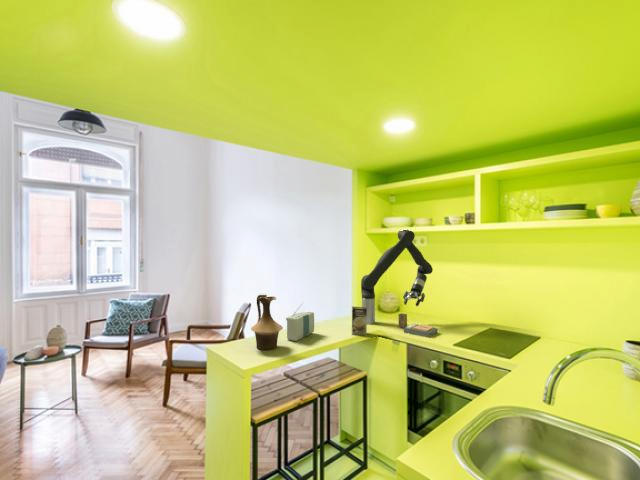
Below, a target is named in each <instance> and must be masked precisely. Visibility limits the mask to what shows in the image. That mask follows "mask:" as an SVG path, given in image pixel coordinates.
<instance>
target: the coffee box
mask: <svg viewBox="0 0 640 480" xmlns="http://www.w3.org/2000/svg"><path fill="white" fill-rule="evenodd" d="M367 327H368V324H367V308H366V307H362V306H351V335H353V336H354V335H355V336H367V335H368V334H367V333H368V331H367V329H368V328H367Z"/></svg>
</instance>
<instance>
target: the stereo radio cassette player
mask: <svg viewBox="0 0 640 480" xmlns="http://www.w3.org/2000/svg"><path fill="white" fill-rule="evenodd" d="M302 305H303V303H301V304H299V306H298V308H297V309H296V310H295V311H294V313H293V314H292V315H289V316H286V317H285V321H286V338H287V341H293V342H297V341H299V340H301V339H303V338H305V337H307V336H309V335H312V333H314V331H315V312H312V311H303V310H302V311H301V312H298V310H299V309H300V307H301V306H302ZM296 312H298V313H296Z"/></svg>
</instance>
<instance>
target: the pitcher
mask: <svg viewBox="0 0 640 480" xmlns="http://www.w3.org/2000/svg"><path fill="white" fill-rule="evenodd" d="M275 300H277V297H276V296H268V295H267V294H259V295H257V297H256V306H257V307H256V308H257V313H258V315H257V316H258V319H257V322H256V324H254V325H252V326H251V327H250V330H251V331H252V332H253V333H254V334H255V343H256V346H255V347H256V349H257V350H261V351H271V350H272V351H273V350H275V349H277V348H278V338H279V333H280V332H281V331H282V330H283V328H284V327H283V325H282V324H281V325H280V323H278V322H277V321H275V320H274V318H273V317H272V314H271V310H270V309H271V308H270V307H271V304H272V303H271V302H273V301H275ZM261 304H262V309H261Z"/></svg>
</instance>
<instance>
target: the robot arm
mask: <svg viewBox="0 0 640 480" xmlns="http://www.w3.org/2000/svg"><path fill="white" fill-rule="evenodd" d="M415 237H416V236H415V232H414V231H412V230H410V231H409V229H407V230H403V231H400V230H398V232H397V238H398V241H397V243H396V244H395V245H393V246H391V247H390V248H388V249H386V250H385V252H383V254H382V255H380V258H379V259H378V260H377V262H376V264H375V266H374V268H373V269H372V270H371V271H370V273H368V274H365V275H363V277H362V278H361V280H360V281H361V282H360V288H361V289H360V290H361V293H360V294H361V307H366V308H367V325H372V324H376V293H375V287H376V285H377V283H378V282H379V280H380V279H381V278H382V276H383V275H384V274H385V273H386V272H387V271H388V270H389V268H390V267H391V266H392V265H393V264H394V263H395V262H396V260H397V259H398V257H400V255H401V254H402V253H403V251H405V250H406V249H407V251H408V253H409V254H410V255H411V258H412V259H413V261H414V263H415V264H416V265H417V266H418V267H417V271H416V278H415V279H414V281H413V283H412V286H411V288H410V291H407V290H406V291H405V293H403V296H402V297H403V300H404V301H403V305H405V306H406V305H407V303H408V301H409V300H411V299H413V300H416V299H417V300H416V302H415V306H416V307H419V306H420V303H424V301H425V297H426V294H425V293H424V292H423V290H424V288H425V285H426V282H427V280H428V277H427V275H431V274H432V273H433V270H434V269H433V266H432V265H431V263H429V261H427V260H426V259H425V257H424V255H423V254H422V252H421V251H420V249H419V248H417V246H416V245H415V244H414V243H413V241H414V240H415Z"/></svg>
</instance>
